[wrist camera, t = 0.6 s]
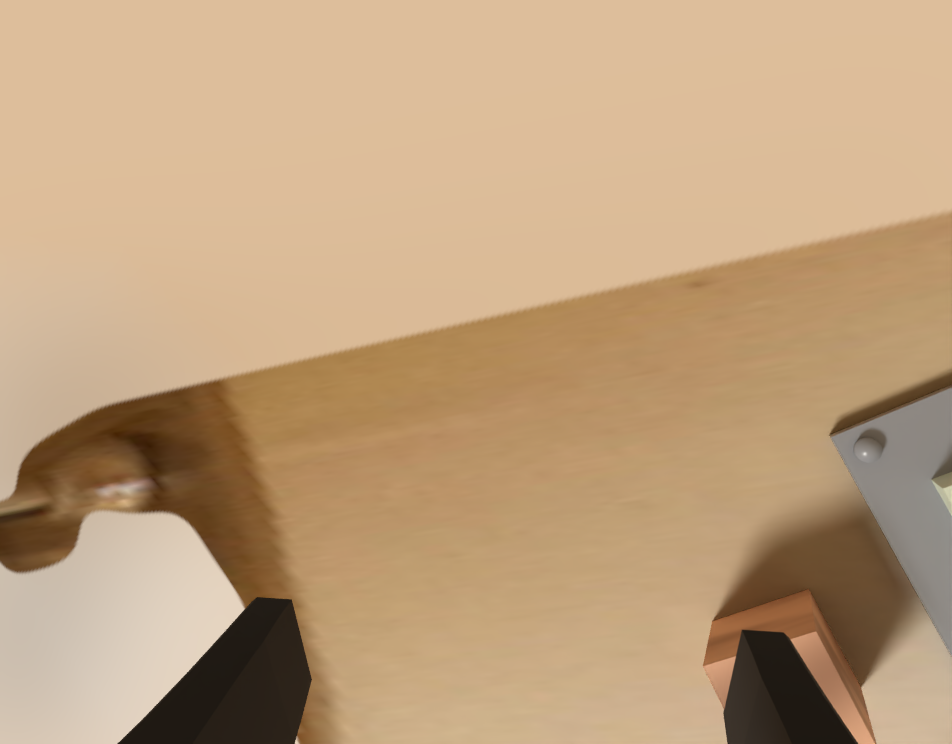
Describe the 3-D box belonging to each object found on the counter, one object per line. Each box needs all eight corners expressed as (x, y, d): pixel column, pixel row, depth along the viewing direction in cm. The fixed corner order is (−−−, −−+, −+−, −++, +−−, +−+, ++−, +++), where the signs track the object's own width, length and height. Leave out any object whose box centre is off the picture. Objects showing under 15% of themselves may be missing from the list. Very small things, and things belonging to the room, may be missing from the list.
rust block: (860, 687, 29) (878, 749, 25) (759, 714, 31) (758, 777, 26) (808, 588, 30) (816, 631, 25) (712, 620, 32) (703, 666, 27)
